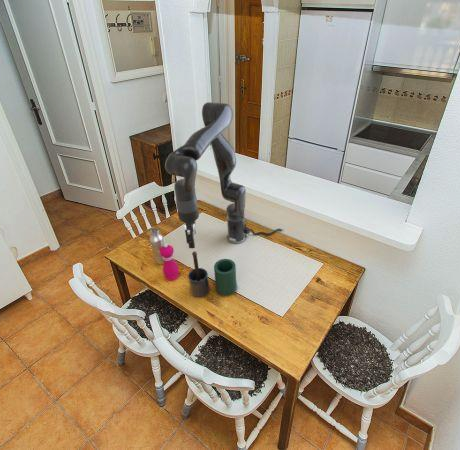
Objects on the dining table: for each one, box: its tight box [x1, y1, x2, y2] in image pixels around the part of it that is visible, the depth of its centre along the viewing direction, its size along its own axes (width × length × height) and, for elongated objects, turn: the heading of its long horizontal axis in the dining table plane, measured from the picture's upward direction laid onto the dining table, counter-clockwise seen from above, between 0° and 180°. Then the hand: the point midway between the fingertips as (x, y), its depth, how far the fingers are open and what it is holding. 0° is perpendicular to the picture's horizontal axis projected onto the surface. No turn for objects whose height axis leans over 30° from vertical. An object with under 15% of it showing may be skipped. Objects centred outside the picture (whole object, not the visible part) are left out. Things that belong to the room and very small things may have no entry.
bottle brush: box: [191, 250, 203, 281], centre depth 136 cm, size 4×4×22 cm
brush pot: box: [187, 267, 210, 298], centre depth 141 cm, size 8×8×10 cm
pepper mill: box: [160, 243, 180, 282], centre depth 145 cm, size 7×7×20 cm
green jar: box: [213, 258, 237, 297], centre depth 140 cm, size 9×9×14 cm
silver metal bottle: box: [148, 227, 165, 265], centre depth 153 cm, size 6×7×20 cm
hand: (192, 240), depth 126 cm, fingers open, 8 cm apart
